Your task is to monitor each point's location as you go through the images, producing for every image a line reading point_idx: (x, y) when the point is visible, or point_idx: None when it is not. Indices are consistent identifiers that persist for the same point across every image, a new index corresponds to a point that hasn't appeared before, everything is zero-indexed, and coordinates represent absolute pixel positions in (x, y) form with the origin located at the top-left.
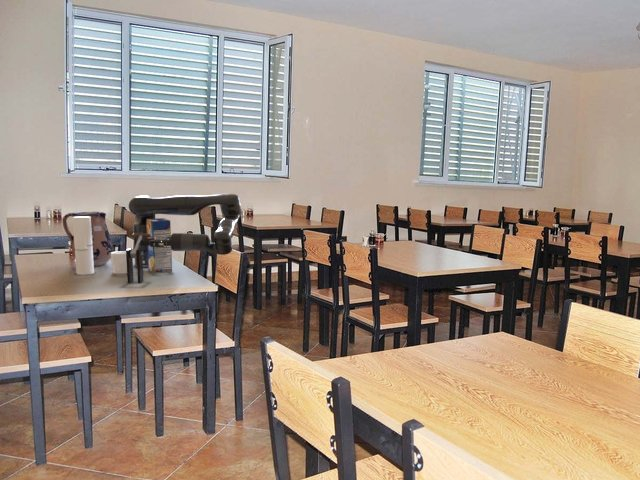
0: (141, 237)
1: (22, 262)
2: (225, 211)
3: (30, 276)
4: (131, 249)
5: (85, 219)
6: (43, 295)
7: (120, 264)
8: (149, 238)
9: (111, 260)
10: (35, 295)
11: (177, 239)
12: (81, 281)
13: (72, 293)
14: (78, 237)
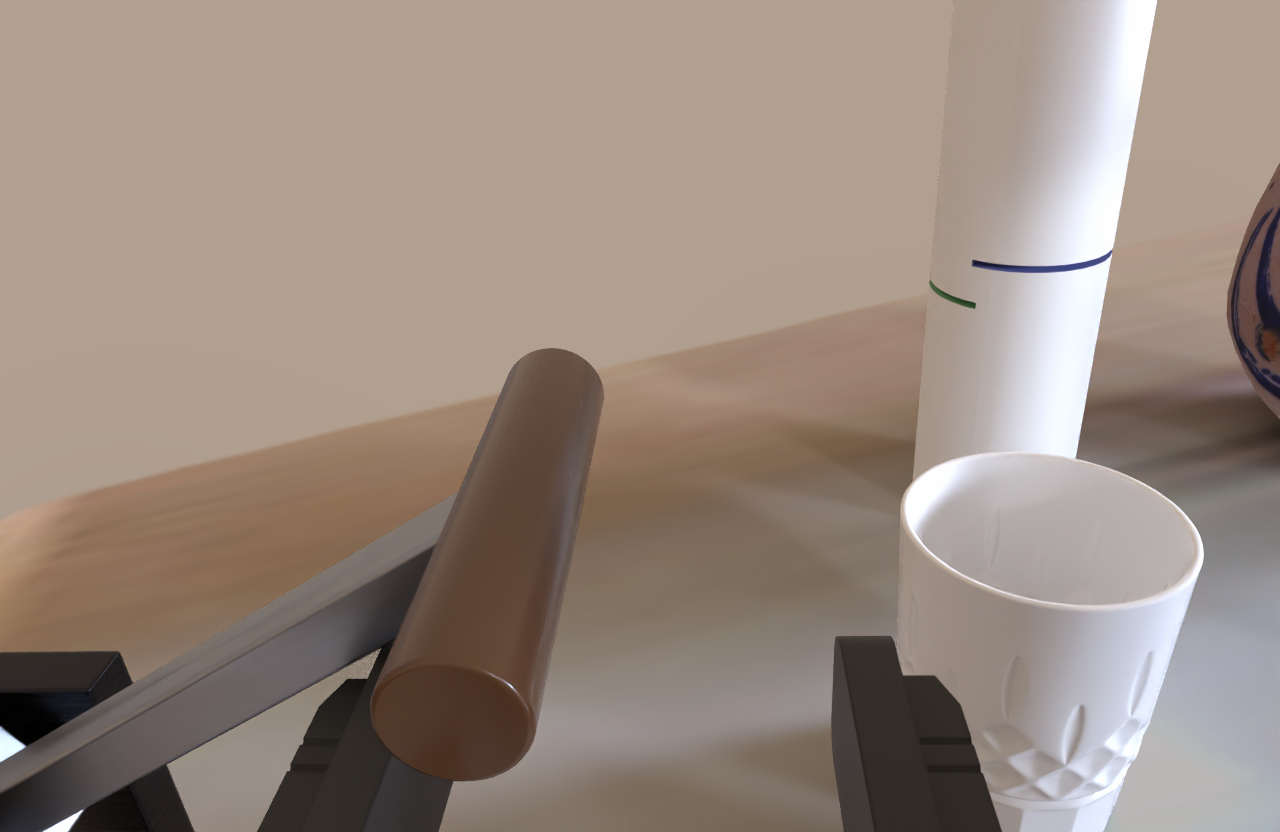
0: (366, 581)
1: (1198, 231)
2: None
3: (790, 341)
4: (60, 704)
5: None
6: (71, 540)
7: (913, 669)
8: (867, 737)
9: (940, 545)
10: (103, 509)
11: None
12: (600, 569)
13: None
14: (940, 153)
